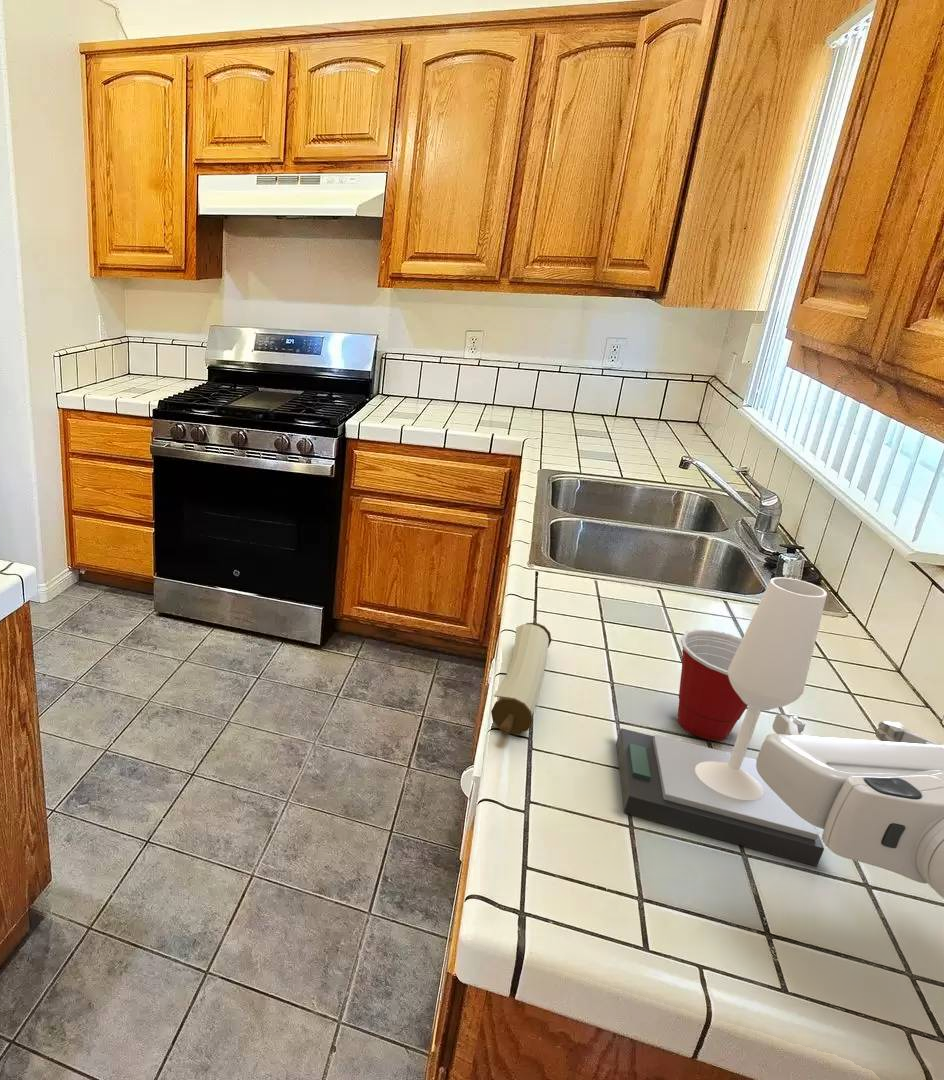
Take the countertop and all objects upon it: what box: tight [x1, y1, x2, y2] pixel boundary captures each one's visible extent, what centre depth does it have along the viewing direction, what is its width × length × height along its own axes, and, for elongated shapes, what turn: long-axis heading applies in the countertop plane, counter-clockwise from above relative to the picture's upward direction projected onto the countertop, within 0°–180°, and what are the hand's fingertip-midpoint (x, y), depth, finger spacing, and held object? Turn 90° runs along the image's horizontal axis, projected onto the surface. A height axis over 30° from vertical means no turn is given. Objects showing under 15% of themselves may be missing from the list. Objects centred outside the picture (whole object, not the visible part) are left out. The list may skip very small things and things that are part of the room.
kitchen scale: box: [616, 727, 825, 867], centre depth 86 cm, size 18×14×3 cm
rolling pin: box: [490, 622, 552, 735], centre depth 106 cm, size 32×6×5 cm, turn 152°
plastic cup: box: [677, 628, 748, 741], centre depth 97 cm, size 11×11×12 cm
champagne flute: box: [695, 576, 828, 801], centre depth 80 cm, size 7×7×24 cm
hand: (833, 724), depth 71 cm, fingers open, 8 cm apart
